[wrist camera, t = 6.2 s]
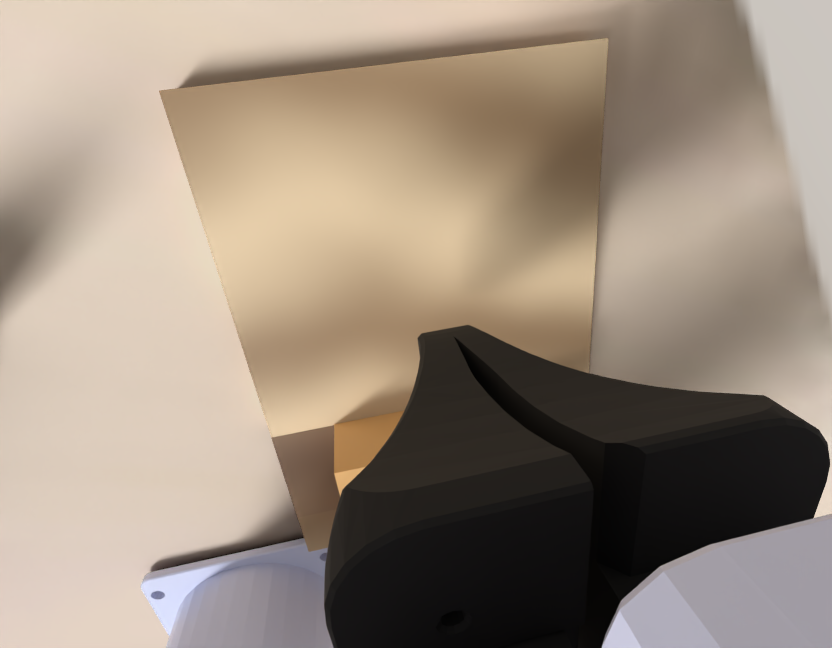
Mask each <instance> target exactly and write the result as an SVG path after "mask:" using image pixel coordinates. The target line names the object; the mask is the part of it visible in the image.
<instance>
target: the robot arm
mask: <svg viewBox="0 0 832 648" xmlns="http://www.w3.org/2000/svg"><path fill="white" fill-rule="evenodd" d="M417 339H418V346H419V354H420V361H419V368H418V373H417V377H416V380H415V384H414V388H413V391H412V394H411V396H410V399H409V401H408V404H407V406H406V408H405V410H404V413H403V414H402V416H401V418H400V420H399V422H398V424H397V425H396V427H395V429H394V431H393V432H392V434H391V435H390V437H389V438H388V440H387V441H386V442H385V444H384V445H383V446H382V448H381V449H380V450H379V452H378V453H377V454H376V456H375V457H374V458H373V460H372V461H371V462H370V463H369V464H368V465H367V466H366V467H365V468H364V469H363V470H362V471H361V472H360V473H359V474H358V475H357V476H356V477H355V478H354V479H353V480H352V481H351V482H350V483H349V484H347V485H346V486H345V487H344V489H343V490H342V493H341V496H340V499H339V502H338V506H337V510H336V513H335V517H334V521H333V525H332V529H331V533H330V538H329V544H328V548H324V549H320V550H315V551H311V552H309V551H308V548H307V545H306V542H305V539H304V538H302V539H297V540H293V541H288V542H284V543H279V544H275V545H270V546H266V547H261V548H257V549H252V550H248V551H243V552H239V553H234V554H230V555H225V556H221V557H216V558H212V559H207V560H203V561H198V562H194V563H189V564H185V565H180V566H176V567H171V568H167V569H162V570H158V571H153V572H150V573H148V574H147V575H145V576H144V579H143V581H142V584H141V590H142V591H143V593H144V595H145V596H146V598H147V600H148V601H149V603H150V605H151V606H152V608H153V610H154V611H155V613H156V615H157V617H158V618H159V620H160V622H161V623H162V625H163V627H164V628H165V630H166V632H167V633H168V635H169V639H168V642H167V645H166V648H832V514H829V515H825V516H821V517H817V518H814V515H815V512H816V509H817V506H818V504H819V501H820V498H821V495H822V493H823V490H824V487H825V484H826V481H827V476H828V472H829V467H830V459H829V451H828V444H827V442H826V440H825V439H824V437H823V435H822V434H821V432H820V431H819V430H818V429H817V428H815V427H814V426H812V425H811V424H809V423H807V422H806V421H804V420H803V419H801V418H800V417H798V416H796V415H795V414H793V413H792V412H790V411H789V410H787V409H785V408H784V407H782V406H781V405H779V404H778V403H776V402H774V401H773V400H771V399H770V398H768V397H766V396H764V395H747V394H729V393H711V392H696V391H687V390H678V389H670V388H662V387H654V386H648V385H642V384H636V383H630V382H625V381H621V380H616V379H611V378H606V377H602V376H598V375H593V374H589V373H586V372H583V371H579V370H576V369H572V368H569V367H566V366H562V365H560V364H557V363H554V362H551V361H548V360H546V359H543V358H541V357H538V356H535V355H533V354H530V353H528V352H526V351H523V350H521V349H519V348H517V347H515V346H512V345H510V344H508V343H506V342H504V341H502V340H500V339H498V338H496V337H494V336H492V335H490V334H488V333H486V332H484V331H481V330H479V329H477V328H475V327H473V326H470V325H464V326H458V327H453V328H448V329H442V330H437V331H431V332H426V333H421V334H420V336H419V337H418V338H417Z"/></svg>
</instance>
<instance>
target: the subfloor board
mask: <svg viewBox="0 0 832 648" xmlns="http://www.w3.org/2000/svg"><path fill="white" fill-rule="evenodd" d="M607 55H608V38H603V39H595V40H586V41H578V42H569V43H561V44H552V45H544V46H535V47H527V48H518V49H510V50H501V51H493V52H484V53H476V54H467V55H459V56H450V57H442V58H433V59H425V60H416V61H408V62H399V63H391V64H382V65H374V66H365V67H357V68H348V69H339V70H331V71H322V72H314V73H305V74H297V75H288V76H280V77H271V78H263V79H254V80H246V81H237V82H229V83H220V84H212V85H203V86H195V87H186V88H178V89H169V90H161V91H159V92H160V95H161V99H162V102H163V105H164V108H165V111H166V114H167V117H168V120H169V123H170V126H171V129H172V132H173V136H174V139H175V142H176V145H177V148H178V151H179V154H180V157H181V160H182V163H183V166H184V169H185V172H186V176H187V179H188V182H189V185H190V188H191V191H192V194H193V197H194V200H195V203H196V206H197V209H198V213H199V216H200V219H201V222H202V225H203V228H204V231H205V234H206V237H207V240H208V243H209V246H210V249H211V253H212V256H213V259H214V262H215V265H216V268H217V271H218V274H219V277H220V280H221V283H222V286H223V290H224V293H225V296H226V299H227V302H228V305H229V308H230V311H231V314H232V317H233V320H234V323H235V326H236V330H237V333H238V336H239V339H240V342H241V345H242V348H243V351H244V354H245V357H246V360H247V363H248V367H249V370H250V373H251V376H252V379H253V382H254V385H255V388H256V391H257V394H258V397H259V400H260V403H261V407H262V410H263V413H264V416H265V419H266V422H267V425H268V428H269V431H270V434H271V437H272V441H273V444H274V447H275V450H276V453H277V456H278V459H279V462H280V465H281V468H282V472H283V475H284V478H285V481H286V484H287V487H288V490H289V493H290V496H291V499H292V502H293V505H294V508H295V512H296V515H297V518H298V521H299V524H300V527H301V530H302V533H303V536H304V539H305V542H306V545H307V548H308V551H309V552H311V551H315V550H320V549H324V548H328V544H329V538H330V533H331V529H332V525H333V521H334V517H335V513H336V510H337V506H338V502H339V499H340V494H339V490H338V486H337V483H336V479H335V475H334V424H338V423H343V422H348V421H353V420H358V419H364V418H369V417H374V416H379V415H384V414H389V413H394V412H399V411H404V410H405V408H406V406H407V404H408V401H409V399H410V396H411V394H412V391H413V388H414V384H415V380H416V377H417V373H418V368H419V361H420V354H419V346H418V339H417V338H418V337H419V336H420V334H421V333H426V332H431V331H437V330H442V329H448V328H453V327H458V326H464V325H470V326H473V327H475V328H477V329H479V330H481V331H484V332H486V333H488V334H490V335H492V336H494V337H496V338H498V339H500V340H502V341H504V342H506V343H508V344H510V345H512V346H515V347H517V348H519V349H521V350H523V351H526V352H528V353H530V354H533V355H535V356H538V357H541V358H543V359H546V360H548V361H551V362H554V363H557V364H560V365H562V366H566V367H569V368H572V369H576V370H579V371H583V372H586V373H589V362H590V345H591V328H592V311H593V294H594V277H595V260H596V243H597V225H598V208H599V191H600V174H601V157H602V140H603V123H604V106H605V89H606V72H607Z"/></svg>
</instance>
